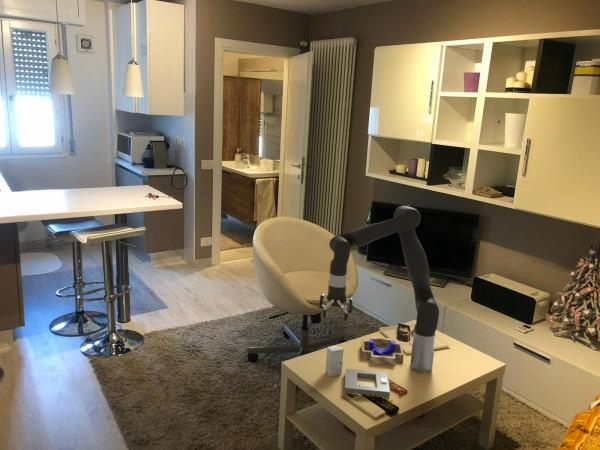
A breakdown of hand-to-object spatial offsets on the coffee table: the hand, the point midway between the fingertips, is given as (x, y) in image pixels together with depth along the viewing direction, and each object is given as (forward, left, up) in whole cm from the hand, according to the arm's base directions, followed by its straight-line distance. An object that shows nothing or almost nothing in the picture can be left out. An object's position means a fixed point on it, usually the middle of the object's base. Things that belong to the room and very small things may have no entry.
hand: (335, 319), depth 214 cm
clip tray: (-23, -19, -25) cm, 39 cm away
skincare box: (-1, +2, -25) cm, 25 cm away
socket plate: (-15, +10, -25) cm, 30 cm away
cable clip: (-23, -20, -25) cm, 39 cm away
